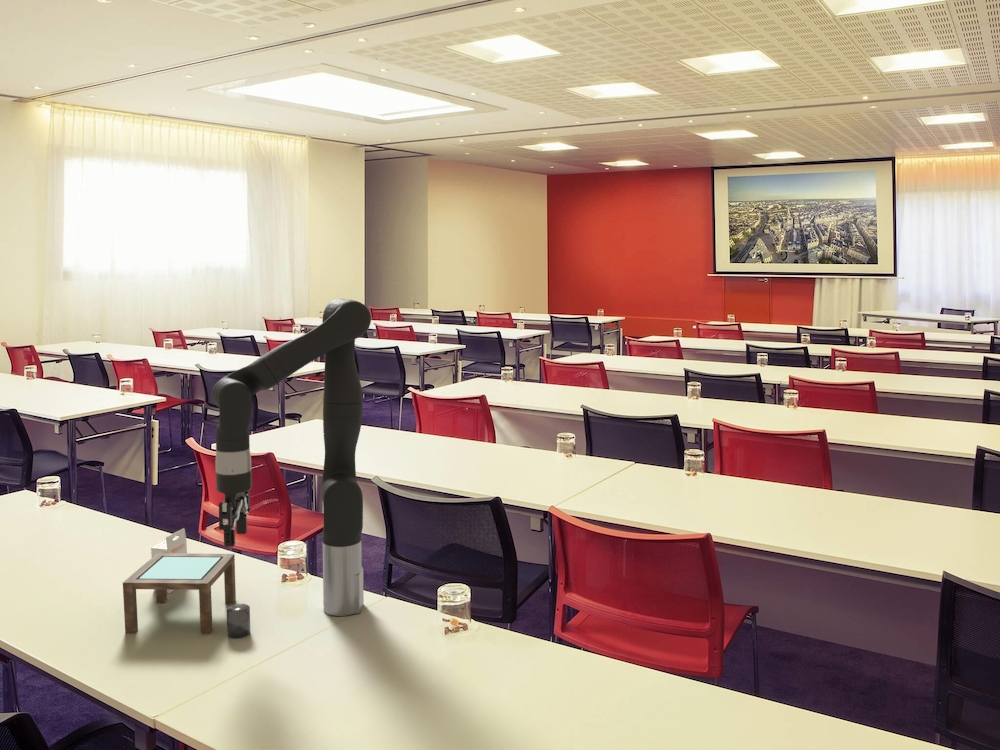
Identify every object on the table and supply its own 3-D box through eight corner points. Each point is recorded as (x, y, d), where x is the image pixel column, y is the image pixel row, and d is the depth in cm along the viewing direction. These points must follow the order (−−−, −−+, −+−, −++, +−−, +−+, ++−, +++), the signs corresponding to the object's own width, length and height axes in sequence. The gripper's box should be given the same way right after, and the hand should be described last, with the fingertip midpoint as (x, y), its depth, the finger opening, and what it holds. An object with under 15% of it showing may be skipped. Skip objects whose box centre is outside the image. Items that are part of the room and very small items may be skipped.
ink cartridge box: (171, 579, 217) (169, 525, 215) (188, 581, 216) (186, 527, 214) (152, 591, 208) (149, 536, 207) (169, 593, 208) (167, 537, 206)
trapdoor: (221, 561, 200) (220, 557, 200) (200, 583, 186) (200, 579, 186) (163, 560, 200) (163, 556, 200) (138, 582, 186) (138, 578, 186)
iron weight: (253, 628, 188) (252, 604, 187) (246, 638, 183) (245, 613, 182) (231, 628, 188) (230, 603, 187) (224, 638, 183) (223, 613, 182)
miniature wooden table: (235, 600, 204) (234, 553, 202) (209, 634, 185) (207, 583, 183) (159, 599, 204) (157, 553, 202) (125, 633, 185) (122, 582, 183)
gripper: (240, 477, 174) (243, 550, 176) (260, 461, 188) (261, 529, 190) (205, 477, 174) (208, 550, 176) (227, 461, 188) (229, 529, 190)
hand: (236, 539), depth 183 cm, fingers open, 8 cm apart
